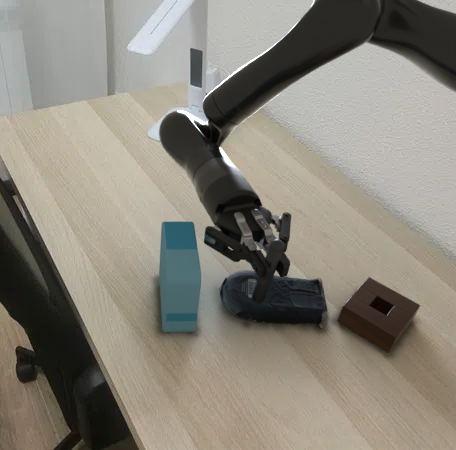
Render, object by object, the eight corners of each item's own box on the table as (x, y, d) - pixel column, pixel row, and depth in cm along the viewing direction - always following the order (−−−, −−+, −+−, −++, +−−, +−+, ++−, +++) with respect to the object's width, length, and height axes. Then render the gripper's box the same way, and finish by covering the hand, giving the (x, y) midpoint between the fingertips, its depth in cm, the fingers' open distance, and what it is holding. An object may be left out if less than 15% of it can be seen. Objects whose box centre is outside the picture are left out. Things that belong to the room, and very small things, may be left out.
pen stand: (362, 292, 85) (368, 276, 83) (412, 320, 81) (420, 304, 79) (336, 321, 80) (342, 305, 78) (388, 353, 76) (396, 337, 74)
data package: (194, 336, 77) (202, 277, 70) (162, 337, 77) (166, 277, 69) (187, 275, 87) (193, 216, 79) (158, 275, 86) (161, 216, 79)
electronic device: (312, 289, 87) (219, 272, 86) (325, 269, 83) (228, 250, 82) (316, 341, 81) (217, 323, 80) (331, 322, 77) (226, 302, 76)
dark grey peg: (255, 293, 79) (276, 234, 69) (265, 301, 78) (288, 242, 68) (248, 300, 78) (268, 241, 68) (258, 308, 77) (280, 249, 67)
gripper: (183, 180, 78) (231, 263, 66) (270, 166, 82) (331, 242, 69) (180, 220, 83) (224, 304, 71) (262, 205, 87) (318, 283, 74)
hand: (277, 273), depth 70 cm, fingers closed on dark grey peg, 2 cm apart
